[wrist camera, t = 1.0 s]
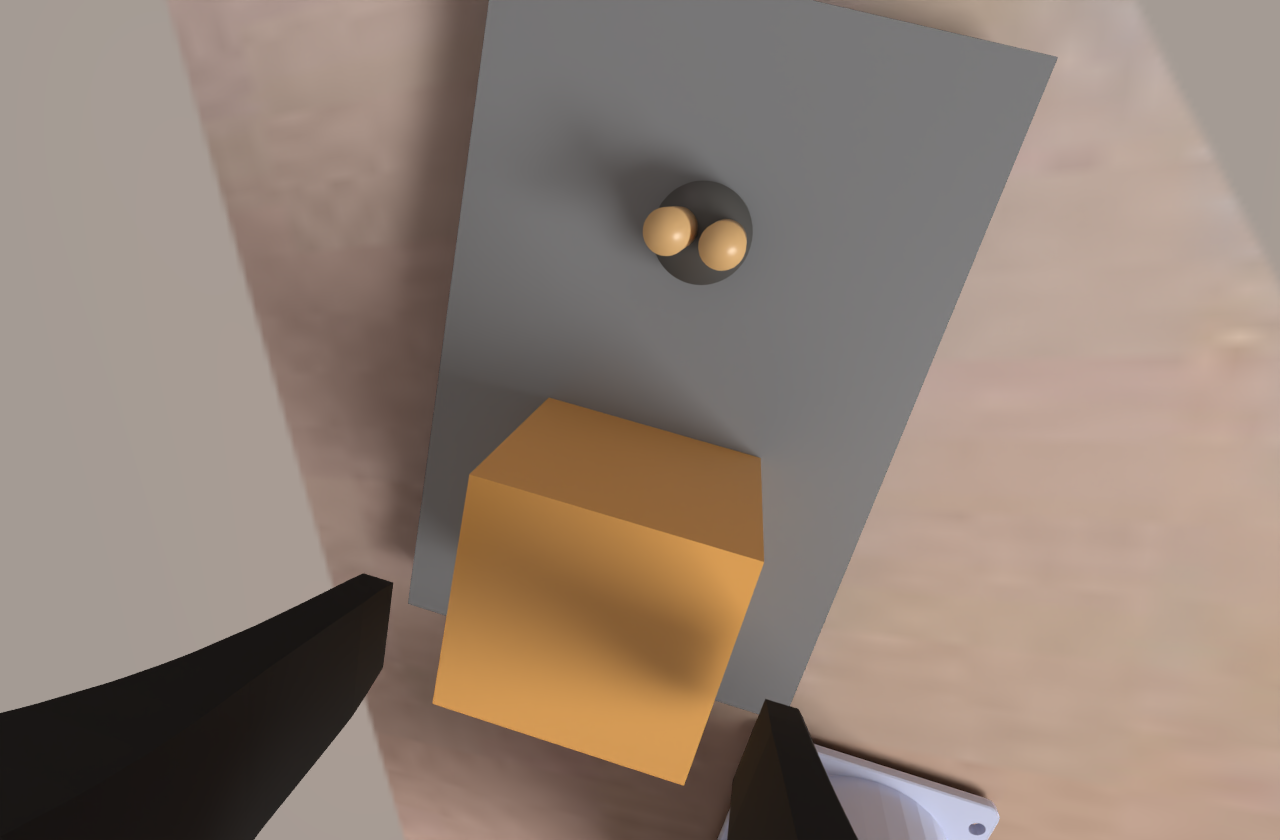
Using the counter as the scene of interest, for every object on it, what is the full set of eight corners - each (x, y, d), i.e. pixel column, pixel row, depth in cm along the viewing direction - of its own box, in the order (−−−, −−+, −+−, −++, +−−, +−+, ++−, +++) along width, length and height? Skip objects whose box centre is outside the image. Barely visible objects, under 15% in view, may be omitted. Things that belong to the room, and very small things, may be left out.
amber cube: (701, 635, 19) (683, 785, 14) (512, 577, 19) (432, 703, 14) (760, 458, 17) (764, 562, 12) (548, 397, 17) (469, 474, 12)
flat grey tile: (780, 676, 21) (788, 817, 16) (437, 569, 22) (348, 673, 17) (1019, 74, 15) (1147, 14, 10) (528, -41, 16) (429, -147, 11)
